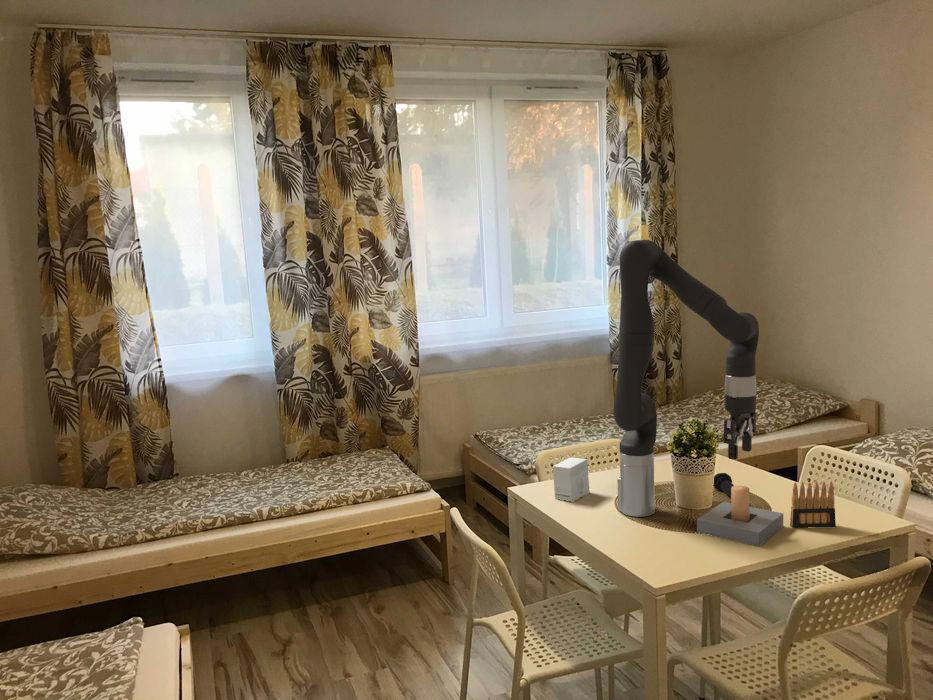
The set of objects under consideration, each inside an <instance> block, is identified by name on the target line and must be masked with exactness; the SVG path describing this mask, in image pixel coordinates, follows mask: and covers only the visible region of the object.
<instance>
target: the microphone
mask: <svg viewBox="0 0 933 700" xmlns="http://www.w3.org/2000/svg"><path fill="white" fill-rule="evenodd" d="M713 478H714V485H713V488H714V489H715V490H717V491H719V490H721V491H723V493H725V494H726V496H727V497H729V496H730V498H731V487H733V486H735V485H734V484H733V480H732V476H731V475H730V474H728V473H727V472H717V473H716V474H715V475H714V476H713Z"/></svg>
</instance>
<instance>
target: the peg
mask: <svg viewBox="0 0 933 700" xmlns="http://www.w3.org/2000/svg"><path fill="white" fill-rule="evenodd" d="M730 498H731V499H730V502H731V519H732V520H737V521H741V522H746V523H748V522H749V521H750V507H751V506H750V488H749V487H748V486H745V485H734V486H733V487H731V497H730Z"/></svg>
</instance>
